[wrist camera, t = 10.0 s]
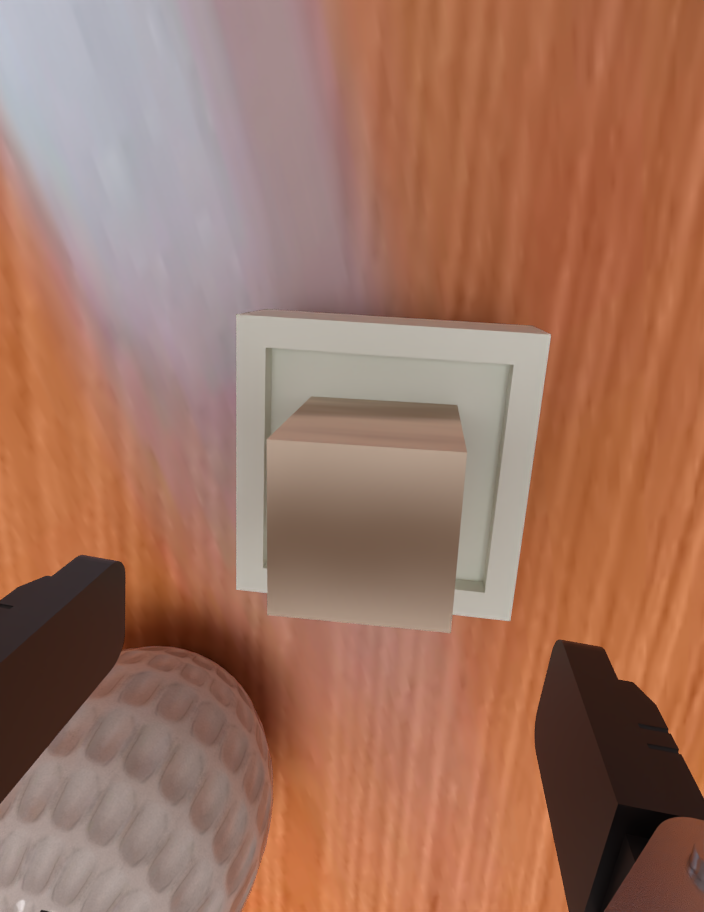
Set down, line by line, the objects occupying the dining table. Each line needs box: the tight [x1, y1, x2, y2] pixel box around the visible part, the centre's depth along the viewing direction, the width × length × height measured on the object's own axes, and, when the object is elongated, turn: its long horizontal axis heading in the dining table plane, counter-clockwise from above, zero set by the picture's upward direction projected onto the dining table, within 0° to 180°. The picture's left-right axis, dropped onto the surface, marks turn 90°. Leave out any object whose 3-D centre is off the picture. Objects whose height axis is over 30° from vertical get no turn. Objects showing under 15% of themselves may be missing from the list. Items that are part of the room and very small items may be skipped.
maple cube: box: [267, 396, 467, 633], centre depth 19 cm, size 5×5×6 cm
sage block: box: [236, 309, 551, 621], centre depth 23 cm, size 10×10×4 cm
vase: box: [0, 646, 273, 912], centre depth 26 cm, size 13×13×17 cm
